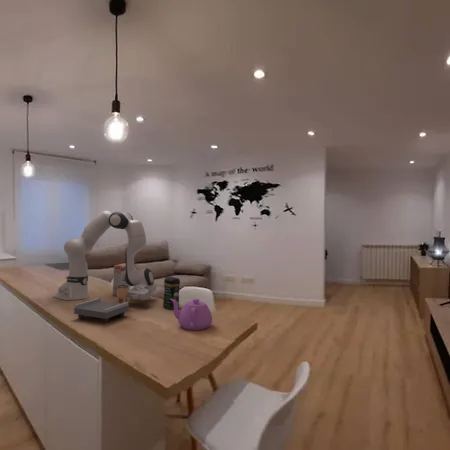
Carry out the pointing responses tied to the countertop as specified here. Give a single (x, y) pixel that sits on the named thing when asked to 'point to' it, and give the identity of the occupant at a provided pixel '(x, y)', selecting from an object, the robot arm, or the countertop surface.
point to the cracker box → (119, 277)
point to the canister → (122, 294)
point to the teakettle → (193, 315)
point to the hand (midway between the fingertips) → (124, 296)
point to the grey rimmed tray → (100, 309)
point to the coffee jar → (171, 292)
